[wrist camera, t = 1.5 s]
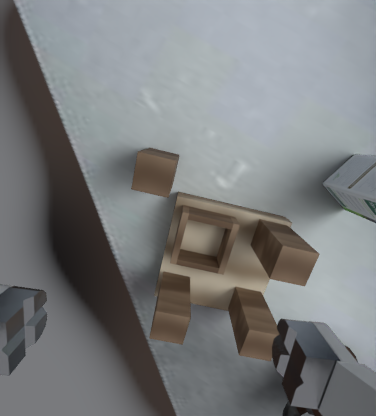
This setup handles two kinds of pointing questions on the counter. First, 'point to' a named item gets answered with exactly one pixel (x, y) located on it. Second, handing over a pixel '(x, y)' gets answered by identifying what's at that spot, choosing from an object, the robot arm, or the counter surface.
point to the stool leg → (155, 172)
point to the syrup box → (355, 186)
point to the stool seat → (227, 270)
